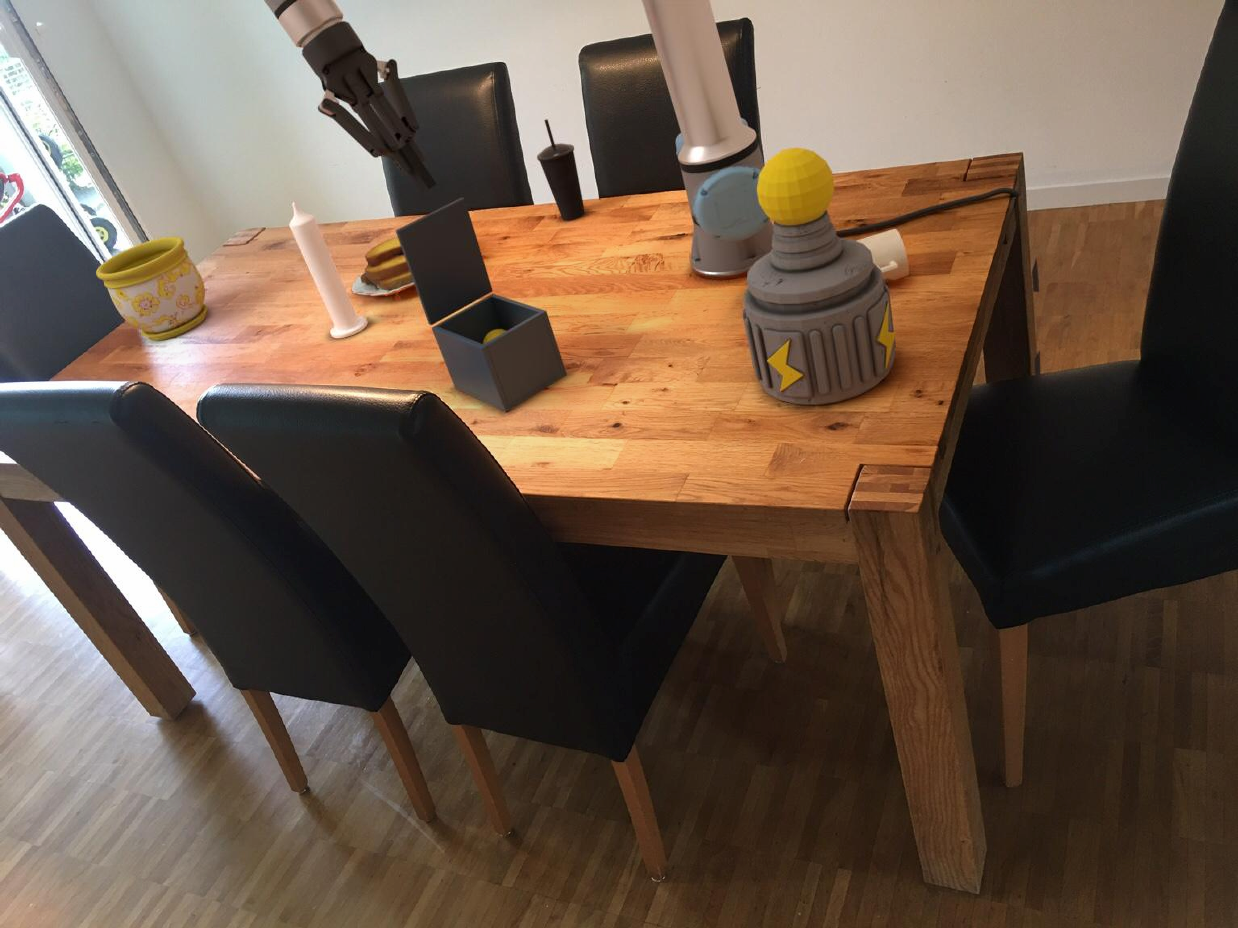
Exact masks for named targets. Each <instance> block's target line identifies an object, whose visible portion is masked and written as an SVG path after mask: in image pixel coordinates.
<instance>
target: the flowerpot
mask: <svg viewBox="0 0 1238 928" xmlns="http://www.w3.org/2000/svg"><path fill="white" fill-rule="evenodd" d="M188 254H189V252H188V251H187V249H186V248H185V241H184V240H183V238H182V237H179V236H165V237H159V238H156V239H155V238H154V239H152V240H149V241H145V242H143V243H140V244H137V245H135V246H132V247H129V248H128V249H125V250H123V251H121V252H118V253H117V254H115V255H114V256H112V257H110V258H108V259H107V260H105V261H104V262H103V263H102V264H100V265H99V266H98V268H97V269H96V272H95V273H96V274H95V275H96V277H97V278H98V279H99V280H101V281H103V285H104V287H105V288H106V289H107V291H108V293H109V296H110V299H111V301H112V303H113V305H114V306H115V308H116V310H117V311H118V313H119V314H120V316H121V317H122V318H123V319H124V320H125V322H127V323H129V324H130V325H131V326H133V327H134V328H136V329H138V330H140V331H141V332H140V335H141V336H142V337H144V338H148V339H149V340H152V341H163V340H167V339H168V340H169V339H171V338H174V337H177V336H179V335H182V334H185V333H187V332H189V331H190V330H192V329H194V328H195V327H197V326H198V325H200V324H201V323H202V322H203V321H205V319H206V316H207V312H208V305H207V304H205V300H206V299H205V297H206V289H205V288H206V287H205V283H204V280H203V277H202V275H201V273H200V271H199V269H198V268H197V266H196V265H195V263H194V262H193V260H192V259H191V258H190V256H189V255H188Z"/></svg>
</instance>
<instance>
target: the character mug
mask: <svg viewBox="0 0 1238 928" xmlns="http://www.w3.org/2000/svg"><path fill="white" fill-rule="evenodd" d="M899 232H900V231H899V230H898V229H896V228H893V229H889V230H886V231H882V232H880V233H876V234H873V235H870V236H867V237H863V238H860V239H857V240H856V241H857V242H860V243H863V244H864V245H865V246H866V247H867V248H868V249H869V250H870V251H871V254H872V258H873V263H874V264H875V265H876V266H877V267H878V268H879V269H880V270H881V271H882V277H883V279H884V281H885V283H887V282H892V281H896V280H899V279H902V278H905V277H908V276H909V273H910V268H909V267H910V266H909V261H908V255H907V251H906V248H905V244H904V241H903V239H902V236H901V234H900V233H899Z"/></svg>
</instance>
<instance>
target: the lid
mask: <svg viewBox="0 0 1238 928" xmlns="http://www.w3.org/2000/svg"><path fill="white" fill-rule="evenodd" d="M395 233H396V237H398V239H399V242H400V245H401V248H402V250H403V253H404V256H405V259H406V262H407V264H408V267H409V270H410V273H411V276H412V278H413V281H414V284H415V285H414V287H415V290H416V293H417V295H418V298H419V300H420V304H421V307H422V309H423V312H424V314H425V318H426V320H427V323H428V325H430V326H433V325H435V324H438V322H439V323H440V321H442V320H445V319H447V318H449V316H451V315H454V314H456V312H457V313H458V311H461V310H463V309H465V308H467V307H468V306H470V305H471V304H472V303H473V304H474V303H476V301H479V300H481V299H483V298H485V296H488V295H490V294H492V293H493V292H494V290H493V287H492V283H491V280H490V278H489V274H488V270H487V267H486V263H485V260H484V257H483V254H482V251H481V248H480V244H479V241H478V238H477V234H476V232H475V229H474V225H473V222H472V218H471V215H470V212H469V208H468V205H467V201H466V198H464V197H459V198H458V199H456V200H454V201H451V202H450V203H447V204H446V205H444V206H442V207H440V208H437V209H436V210H433V211H431V212H429V213H427V214H425V215H423V216H421V217H419V218H418V219H415V220H414V221H411V222H409V223H408V224H405V225H403V226H401V227H400V228H397V229H395Z"/></svg>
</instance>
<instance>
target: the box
mask: <svg viewBox="0 0 1238 928" xmlns="http://www.w3.org/2000/svg"><path fill="white" fill-rule="evenodd" d="M496 329H503V330H506V332H504V333H503V334H501V335H499V336H497V337H496V338H494V339H492V340H491V341H489V342H487V343H485V344H484V345H483V340H484V338H485V336H486V335H487V334H488V333H489V332H491V331H493V330H496ZM431 330H432V333H433V335H434V338H435V342H436V344H437V346H438V348H439V351H440V354H441V356H442V359H443V361H444V363H445V366H446V368H447V371H448V374H449V377H450V379H451V381H452V384H453V386H454V389H455V390H458V391H460V392H462V393H463V394H466V395H468V396H470V397H472V398H475V399H476V400H478V401H480V402H483V403H484V404H487V405H489V406H491V407H494V408H496V409H498V410H500V411H502V412H504V413H507V412H509V411H512V409H515V407H518V406H519V405H521V404H523V402H525V401H527V400H529V399H530V398H532V397H533V396H535V395H536V394H538V393H540V392H541V391H543V390H545V389H546V388H547V387H549V386H551V385H553V384H554V383H556V382H557V381H559V380H561V379H563V378H564V377H566V376H567V375H568V374H567V370H566V366H565V363H564V361H563V357H562V355H561V352H560V348H559V346H558V342H557V340H556V336H555V334H554V330H553V327H552V324H551V320H550V318H549V314H548V312H547V310H545V309H542V308H539V307H537V306H533V305H529V304H527V303H523V302H520V301H517V300H514V299H511V298H508V297H506V296H503V295H498V294H496V293H490V294H488V295H486V297H483V298H481V299H479V300H477V302H474V303H473V304H472V305H471V304H470V305H468V306H467V307H465V308H463V309H461V310H460V311H459V312H457V313H454V314H452V316H450V317H447V318H445V319H443V321H441V322H439V323H436V325H434V326H432V327H431Z"/></svg>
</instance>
